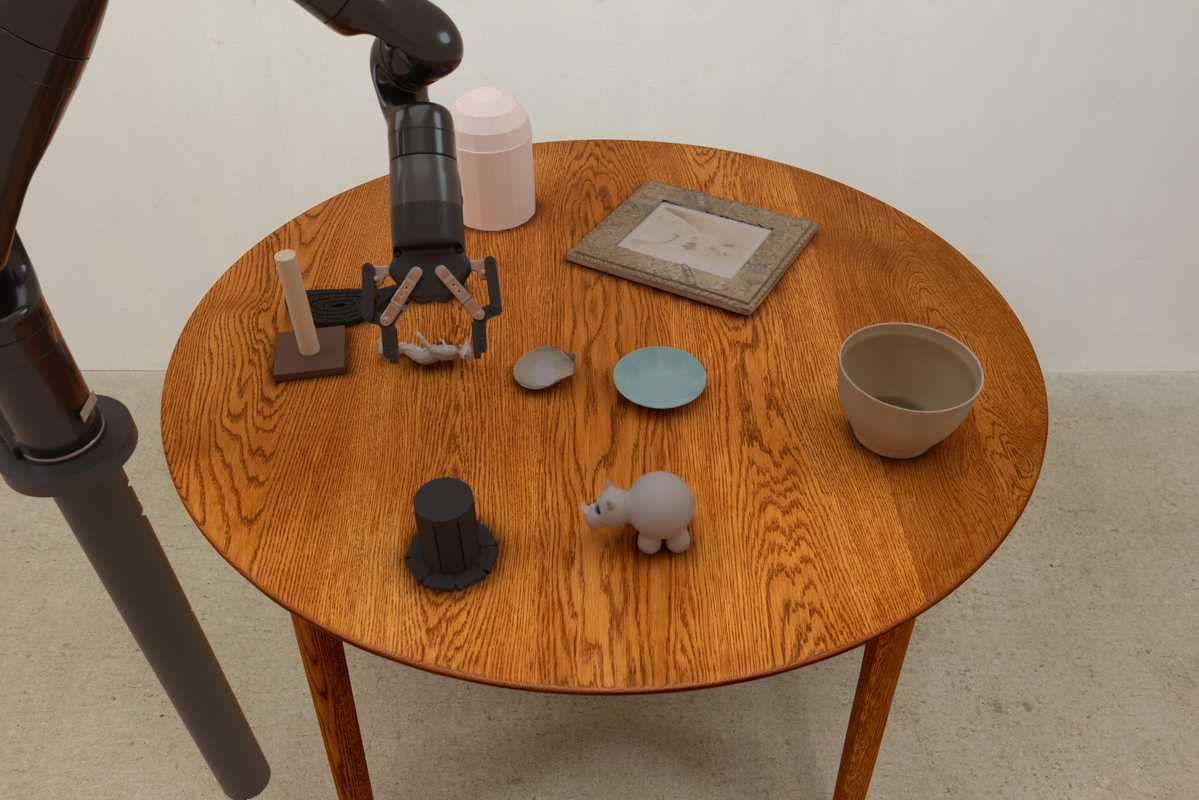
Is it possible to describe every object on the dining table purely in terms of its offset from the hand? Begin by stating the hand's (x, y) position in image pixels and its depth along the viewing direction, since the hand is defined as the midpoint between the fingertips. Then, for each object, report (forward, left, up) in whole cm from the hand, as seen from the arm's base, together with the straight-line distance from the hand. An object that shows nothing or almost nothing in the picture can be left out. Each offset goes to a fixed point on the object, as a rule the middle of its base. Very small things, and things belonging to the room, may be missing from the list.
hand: (436, 360), depth 98 cm
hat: (-1, -11, -18) cm, 21 cm away
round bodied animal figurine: (+19, -12, -18) cm, 29 cm away
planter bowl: (+53, -2, -18) cm, 56 cm away
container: (+11, +59, -18) cm, 62 cm away
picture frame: (+40, +42, -18) cm, 60 cm away
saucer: (+27, +11, -18) cm, 34 cm away
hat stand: (-17, +26, -18) cm, 35 cm away
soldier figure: (-2, +22, -18) cm, 28 cm away
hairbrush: (-8, +36, -18) cm, 41 cm away
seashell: (+13, +16, -18) cm, 27 cm away
